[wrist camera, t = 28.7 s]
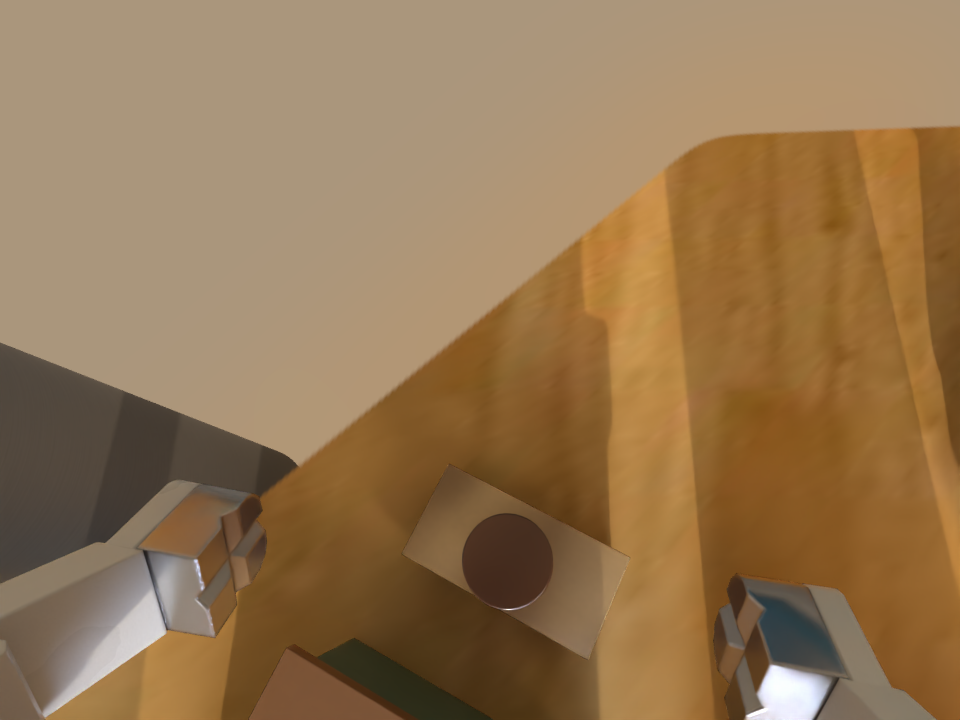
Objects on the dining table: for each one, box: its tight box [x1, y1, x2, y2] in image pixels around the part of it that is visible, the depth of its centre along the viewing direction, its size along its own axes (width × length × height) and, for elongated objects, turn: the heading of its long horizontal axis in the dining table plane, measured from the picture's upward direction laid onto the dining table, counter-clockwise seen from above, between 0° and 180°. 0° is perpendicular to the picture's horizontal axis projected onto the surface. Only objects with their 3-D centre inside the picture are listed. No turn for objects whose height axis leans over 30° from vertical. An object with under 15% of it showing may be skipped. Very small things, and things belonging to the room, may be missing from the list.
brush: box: [402, 464, 630, 660], centre depth 24 cm, size 10×5×14 cm, turn 63°
